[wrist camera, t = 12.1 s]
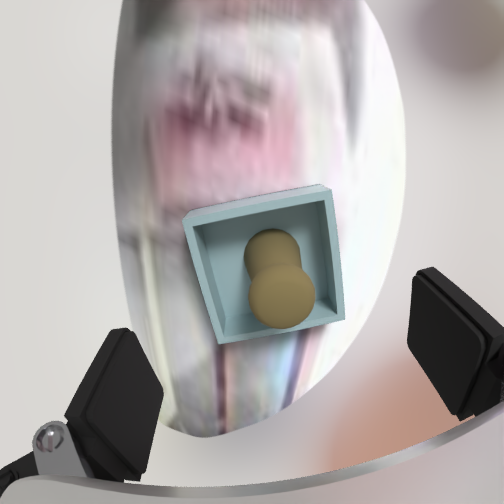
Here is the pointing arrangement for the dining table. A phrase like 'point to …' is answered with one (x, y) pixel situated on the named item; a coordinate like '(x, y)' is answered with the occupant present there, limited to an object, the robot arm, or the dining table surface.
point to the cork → (277, 280)
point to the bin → (233, 266)
